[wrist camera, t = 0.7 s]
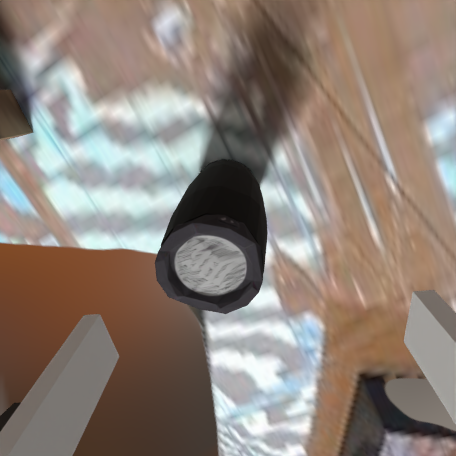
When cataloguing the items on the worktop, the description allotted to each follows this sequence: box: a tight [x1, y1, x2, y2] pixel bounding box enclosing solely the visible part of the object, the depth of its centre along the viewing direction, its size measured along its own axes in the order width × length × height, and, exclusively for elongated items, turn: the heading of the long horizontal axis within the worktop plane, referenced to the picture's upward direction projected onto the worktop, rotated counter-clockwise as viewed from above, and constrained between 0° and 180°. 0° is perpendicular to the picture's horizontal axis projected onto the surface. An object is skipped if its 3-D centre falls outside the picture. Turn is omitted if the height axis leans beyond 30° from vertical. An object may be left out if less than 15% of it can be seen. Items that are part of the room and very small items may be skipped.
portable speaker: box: [155, 159, 267, 314], centre depth 28 cm, size 9×9×20 cm
